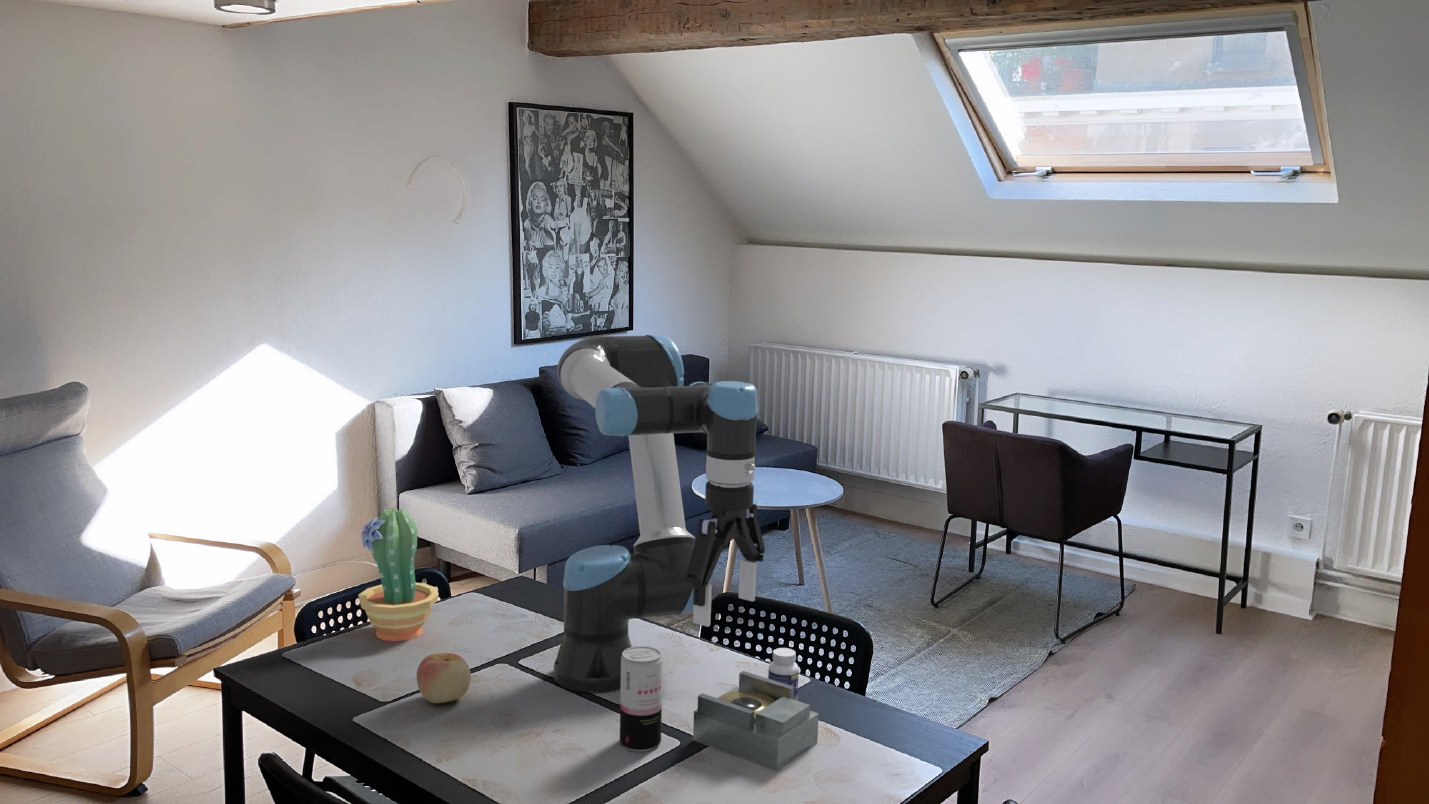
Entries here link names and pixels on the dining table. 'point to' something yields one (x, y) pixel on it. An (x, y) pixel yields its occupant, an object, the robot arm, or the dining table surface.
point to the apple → (443, 677)
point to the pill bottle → (784, 668)
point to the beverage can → (641, 698)
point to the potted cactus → (395, 578)
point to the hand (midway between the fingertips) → (724, 611)
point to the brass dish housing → (757, 722)
